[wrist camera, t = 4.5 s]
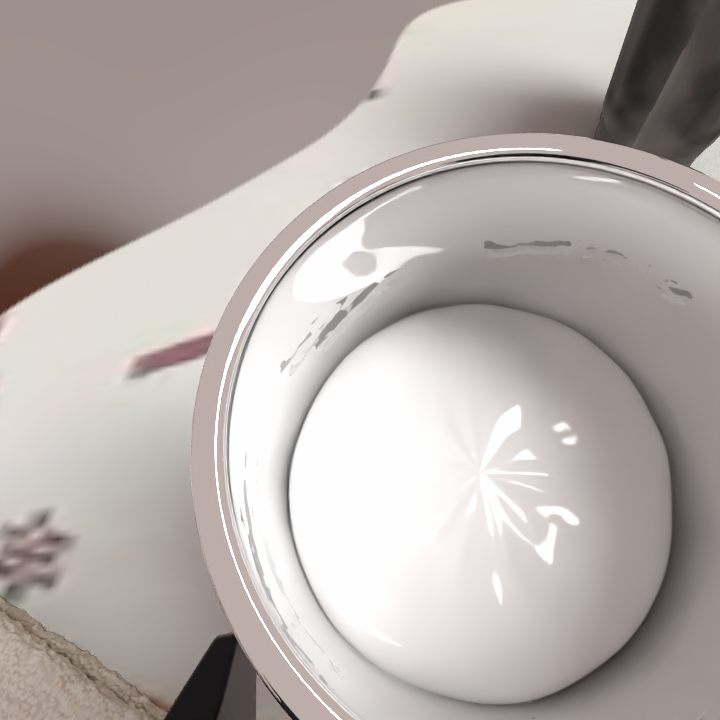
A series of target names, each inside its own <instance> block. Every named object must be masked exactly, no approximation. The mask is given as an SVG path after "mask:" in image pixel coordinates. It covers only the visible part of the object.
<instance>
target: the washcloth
mask: <svg viewBox="0 0 720 720" xmlns="http://www.w3.org/2000/svg"><path fill="white" fill-rule="evenodd" d="M166 715H167V712H166V711H165V710H164V709H162V708H159V707H157V706H156V705H155V704H154V703H151V701H150V699H149V698H148V697H147V695H140V694H138V692H137V690H136V687H132V686H130V685H129V684H127V683H126V682H125V681H124V679H123V677H122V676H121V675H119V674H118V673H117V672H116V671H108V670H107V669H105V668H104V667H103V665H102V664H100V663H99V661H98V659H97V658H96V657H95V656H91V655H90V654H89V652H88V651H81V649H80V648H78V647H76V646H75V645H74V644H73V643H69V642H67V641H66V640H65V639H64V637H61V636H58V635H56V634H55V633H52V632H47V631H45V630H44V629H43V628H42V625H41V624H40V623H39V622H37V621H36V620H34V619H33V618H31V617H30V616H29V615H28V614H27V612H26V611H25V610H23V609H18V608H16V607H14V606H12V605H11V604H9V603H8V602H6V601H5V600H4V599H3V598H1V597H0V720H163V719H164V718H165V716H166Z"/></svg>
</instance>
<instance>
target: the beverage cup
mask: <svg viewBox="0 0 720 720" xmlns="http://www.w3.org/2000/svg"><path fill="white" fill-rule="evenodd" d="M719 136H720V0H638V1H637V4H636V7H635V10H634V13H633V16H632V19H631V22H630V25H629V28H628V31H627V34H626V37H625V40H624V43H623V46H622V49H621V52H620V55H619V58H618V61H617V63H616V66H615V69H614V72H613V75H612V78H611V81H610V84H609V87H608V90H607V93H606V96H605V99H604V103H603V110H602V113H601V117H600V122H599V124H598V126H597V129H596V133H595V139H599V140H604V141H609V142H614V143H618V144H622V145H626V146H630V147H633V148H637V149H641V150H644V151H647V152H650V153H653V154H656V155H659V156H662V157H665V158H668V159H671V160H674V161H676V162H678V163H681V164H683V165H686V166H688V167H689V166H690V165H691V164H692V163H693V161H694V160H695V159H696V158H697V157H698V156H699V155H700V154H701V153H702V152H703V151H704V150H705V149H706V148H707V147H709V146H710V145H711V144H712V143H713V142H714V141H715V140H716V139H717V138H718V137H719Z"/></svg>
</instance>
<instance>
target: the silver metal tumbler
mask: <svg viewBox="0 0 720 720" xmlns="http://www.w3.org/2000/svg"><path fill="white" fill-rule="evenodd" d="M190 466H191V487H192V498H193V506H194V513H195V519H196V525H197V531H198V535H199V539H200V544H201V548H202V552H203V555H204V559H205V563H206V566H207V569H208V572H209V575H210V578H211V582H212V584H213V587H214V590H215V592H216V595H217V597H218V600H219V602H220V605H221V607H222V609H223V612H224V614H225V616H226V618H227V621H228V623H229V625H230V627H231V629H232V631H233V633H234V635H235V637H236V639H237V640H238V642H239V644H240V646H241V648H242V649H243V651H244V653H245V655H246V656H247V658H248V660H249V661H250V663H251V664H252V666H253V668H254V669H255V671H256V672H257V674H258V675H259V677H260V678H261V680H262V681H263V682H264V684H265V685H266V687H267V688H268V690H269V691H270V692H271V694H272V695H273V696H274V698H275V699H276V700H277V702H278V703H279V704H280V705H281V707H282V708H283V709H284V710H285V712H286V713H287V714H288V715H289V716H290V717H291V718H292V720H720V181H718V180H716V179H714V178H712V177H710V176H708V175H706V174H704V173H702V172H699V171H697V170H695V169H693V168H691V167H688V166H686V165H683V164H681V163H678V162H676V161H674V160H671V159H668V158H665V157H662V156H659V155H656V154H653V153H650V152H647V151H644V150H641V149H637V148H633V147H630V146H626V145H622V144H618V143H614V142H609V141H604V140H599V139H592V138H586V137H579V136H571V135H561V134H547V133H507V134H493V135H483V136H475V137H468V138H462V139H456V140H451V141H447V142H442V143H438V144H434V145H430V146H427V147H424V148H420V149H417V150H414V151H411V152H408V153H405V154H402V155H399V156H397V157H394V158H391V159H389V160H387V161H384V162H382V163H380V164H378V165H375V166H373V167H371V168H369V169H367V170H365V171H363V172H361V173H359V174H358V175H356V176H354V177H352V178H350V179H349V180H347V181H345V182H344V183H342V184H340V185H339V186H337V187H336V188H334V189H333V190H331V191H329V192H328V193H327V194H325V195H324V196H322V197H321V198H320V199H318V200H317V201H316V202H314V203H313V204H312V205H311V206H309V207H308V208H307V209H306V210H304V211H303V212H302V213H301V214H300V215H299V216H297V217H296V218H295V219H294V220H293V221H292V222H291V223H290V224H289V225H288V226H287V227H286V228H285V229H284V230H283V231H282V232H281V233H280V234H279V235H278V236H277V237H276V238H275V239H274V240H273V241H272V242H271V243H270V244H269V246H268V247H267V248H266V249H265V250H264V251H263V253H262V254H261V255H260V256H259V257H258V259H257V260H256V261H255V263H254V264H253V265H252V267H251V268H250V269H249V271H248V272H247V274H246V275H245V277H244V278H243V280H242V281H241V283H240V285H239V286H238V288H237V289H236V291H235V293H234V294H233V296H232V298H231V300H230V302H229V303H228V305H227V307H226V309H225V311H224V313H223V315H222V317H221V319H220V322H219V324H218V326H217V329H216V331H215V333H214V336H213V339H212V341H211V344H210V346H209V349H208V352H207V355H206V358H205V361H204V365H203V369H202V372H201V376H200V380H199V385H198V389H197V394H196V400H195V405H194V412H193V420H192V431H191V452H190Z"/></svg>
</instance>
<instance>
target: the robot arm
mask: <svg viewBox="0 0 720 720" xmlns="http://www.w3.org/2000/svg"><path fill="white" fill-rule="evenodd" d="M163 720H256V671H255V669H254V668H253V666H252V664H251V663H250V661H249V660H248V658H247V656H246V655H245V653H244V651H243V649H242V648H241V646H240V644H239V642H238V640H237V639H236V637H235V635H234V633H233V632H232V633H227V634H222V635H219V636H217V637H216V638H215V639H214V640H213V642H212V643H211V645H210V646H209V648H208V650H207V651H206V653H205V654H204V656H203V657H202V659H201V661H200V662H199V664H198V665H197V667H196V669H195V670H194V672H193V673H192V675H191V677H190V678H189V680H188V681H187V683H186V684H185V686H184V688H183V689H182V691H181V692H180V694H179V696H178V697H177V699H176V700H175V702H174V703H173V705H172V707H171V708H170V710H169V711H168V713H167V715H166V716H165V718H164V719H163Z"/></svg>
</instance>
